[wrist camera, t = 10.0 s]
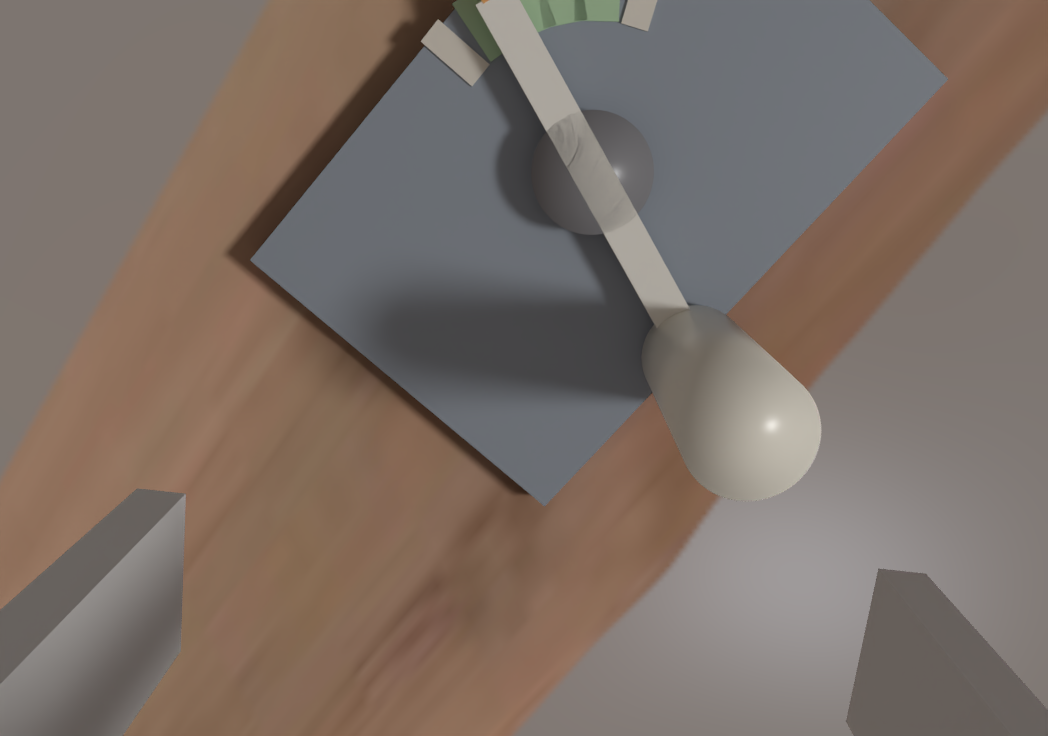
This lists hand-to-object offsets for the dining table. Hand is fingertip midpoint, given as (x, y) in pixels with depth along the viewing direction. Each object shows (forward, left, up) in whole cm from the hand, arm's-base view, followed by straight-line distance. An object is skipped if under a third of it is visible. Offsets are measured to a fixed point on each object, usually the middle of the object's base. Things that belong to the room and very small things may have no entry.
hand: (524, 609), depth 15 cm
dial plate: (-6, -2, -24) cm, 25 cm away
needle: (-6, -2, -22) cm, 23 cm away
